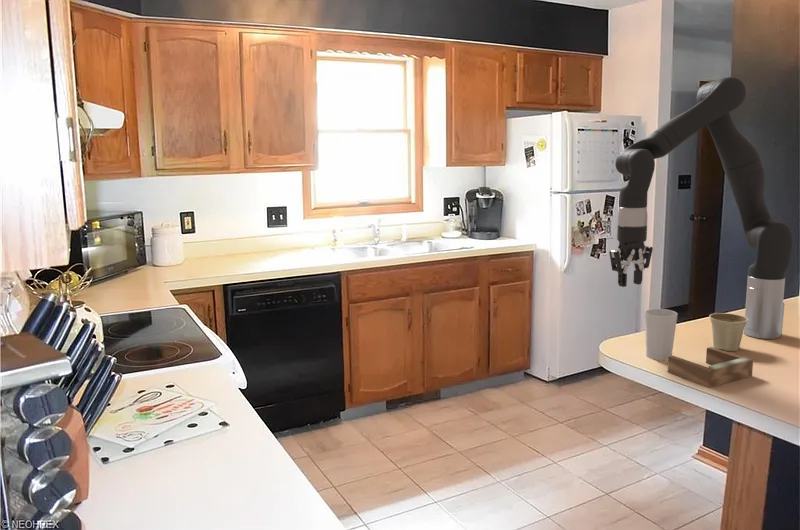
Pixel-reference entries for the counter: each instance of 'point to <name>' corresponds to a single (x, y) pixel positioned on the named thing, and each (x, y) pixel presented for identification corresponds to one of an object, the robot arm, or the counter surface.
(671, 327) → the cup
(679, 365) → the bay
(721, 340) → the flower pot
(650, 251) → the robot arm
